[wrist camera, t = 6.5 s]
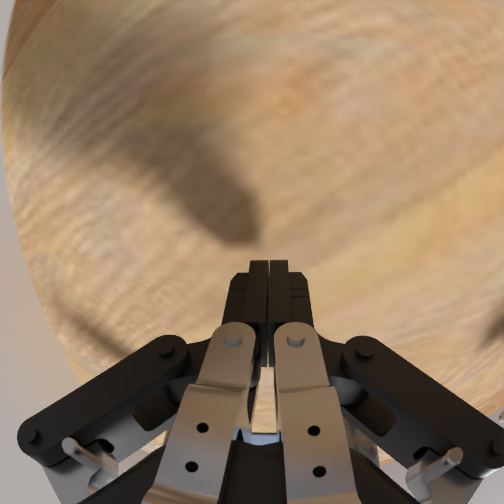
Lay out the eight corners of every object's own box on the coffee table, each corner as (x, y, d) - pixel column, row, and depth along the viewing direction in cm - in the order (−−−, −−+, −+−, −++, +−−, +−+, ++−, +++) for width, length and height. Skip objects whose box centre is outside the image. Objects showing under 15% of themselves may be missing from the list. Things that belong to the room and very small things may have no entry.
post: (338, 391, 19) (349, 502, 11) (371, 387, 18) (389, 494, 11) (332, 406, 20) (340, 506, 12) (363, 403, 20) (376, 500, 12)
